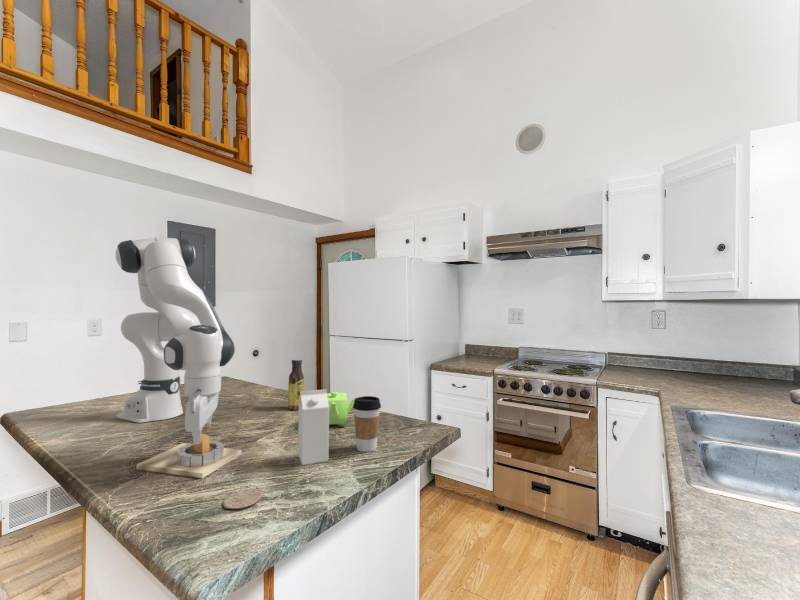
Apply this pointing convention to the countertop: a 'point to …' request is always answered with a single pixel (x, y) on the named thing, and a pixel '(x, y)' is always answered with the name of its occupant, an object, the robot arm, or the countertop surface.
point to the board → (169, 465)
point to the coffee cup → (366, 422)
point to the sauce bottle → (295, 384)
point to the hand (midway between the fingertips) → (202, 436)
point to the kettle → (338, 408)
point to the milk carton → (313, 427)
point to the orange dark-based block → (202, 446)
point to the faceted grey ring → (200, 455)
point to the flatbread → (242, 499)
